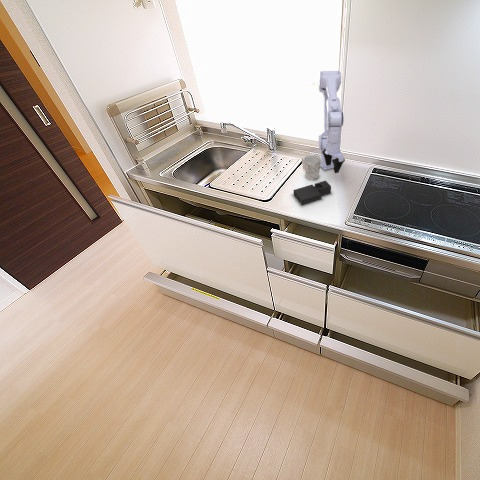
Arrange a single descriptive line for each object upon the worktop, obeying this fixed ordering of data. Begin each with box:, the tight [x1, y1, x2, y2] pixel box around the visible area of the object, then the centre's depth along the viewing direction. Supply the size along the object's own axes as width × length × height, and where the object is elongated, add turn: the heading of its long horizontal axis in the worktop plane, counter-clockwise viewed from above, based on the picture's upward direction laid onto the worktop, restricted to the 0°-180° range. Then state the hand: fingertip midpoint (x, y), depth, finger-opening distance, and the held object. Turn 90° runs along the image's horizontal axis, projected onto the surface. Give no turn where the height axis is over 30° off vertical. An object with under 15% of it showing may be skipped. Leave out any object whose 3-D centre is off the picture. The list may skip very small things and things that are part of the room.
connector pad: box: [314, 180, 332, 198], centre depth 123 cm, size 6×5×4 cm
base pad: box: [293, 184, 322, 206], centre depth 121 cm, size 12×9×3 cm
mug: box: [301, 154, 321, 181], centre depth 132 cm, size 11×8×10 cm
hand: (332, 168), depth 122 cm, fingers open, 7 cm apart
